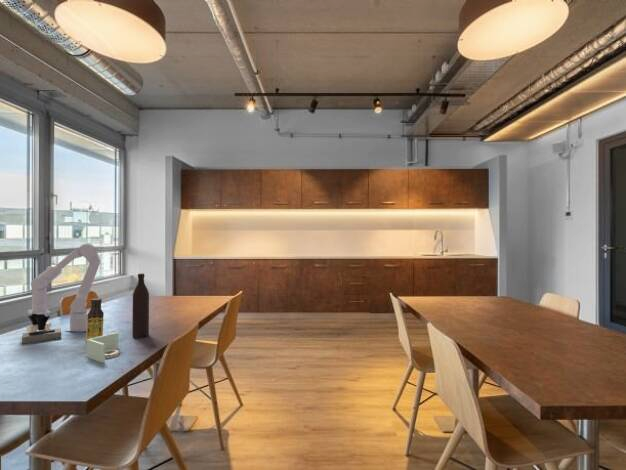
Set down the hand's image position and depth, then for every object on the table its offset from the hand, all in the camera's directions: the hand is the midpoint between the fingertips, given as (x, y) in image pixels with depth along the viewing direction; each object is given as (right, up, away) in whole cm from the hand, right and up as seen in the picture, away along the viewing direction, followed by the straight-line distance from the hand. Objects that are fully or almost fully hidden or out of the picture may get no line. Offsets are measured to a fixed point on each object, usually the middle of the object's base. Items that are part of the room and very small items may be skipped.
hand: (39, 329), depth 166 cm
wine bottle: (+51, -3, -3) cm, 51 cm away
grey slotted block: (+8, -2, -8) cm, 12 cm away
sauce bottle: (+36, -2, -14) cm, 39 cm away
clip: (0, -2, 0) cm, 2 cm away
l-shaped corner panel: (+52, -3, -29) cm, 59 cm away
